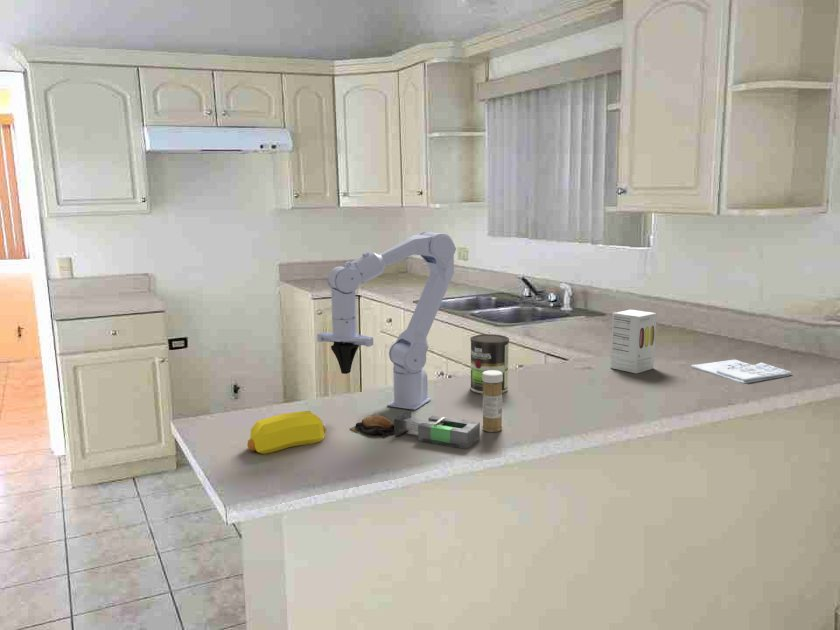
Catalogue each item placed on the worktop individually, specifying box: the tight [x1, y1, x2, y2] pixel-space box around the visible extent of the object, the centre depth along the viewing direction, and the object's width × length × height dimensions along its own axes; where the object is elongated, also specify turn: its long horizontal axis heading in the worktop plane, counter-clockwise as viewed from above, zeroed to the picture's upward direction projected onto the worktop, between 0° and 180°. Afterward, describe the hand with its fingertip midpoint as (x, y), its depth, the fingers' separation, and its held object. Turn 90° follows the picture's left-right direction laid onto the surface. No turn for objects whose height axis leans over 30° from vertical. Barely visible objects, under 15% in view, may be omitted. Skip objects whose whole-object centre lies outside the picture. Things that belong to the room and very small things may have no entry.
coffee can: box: [470, 333, 510, 395], centre depth 196 cm, size 10×10×14 cm
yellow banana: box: [247, 410, 327, 455], centre depth 158 cm, size 18×7×8 cm
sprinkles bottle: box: [481, 370, 503, 433], centre depth 165 cm, size 5×5×14 cm
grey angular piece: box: [393, 410, 446, 437], centre depth 162 cm, size 6×10×4 cm, turn 64°
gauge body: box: [417, 415, 481, 450], centre depth 159 cm, size 7×12×4 cm, turn 64°
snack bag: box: [690, 359, 793, 385], centre depth 212 cm, size 19×20×2 cm
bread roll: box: [349, 414, 395, 439], centre depth 166 cm, size 11×8×4 cm
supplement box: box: [609, 309, 657, 375], centre depth 215 cm, size 10×9×17 cm
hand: (346, 372), depth 176 cm, fingers closed
